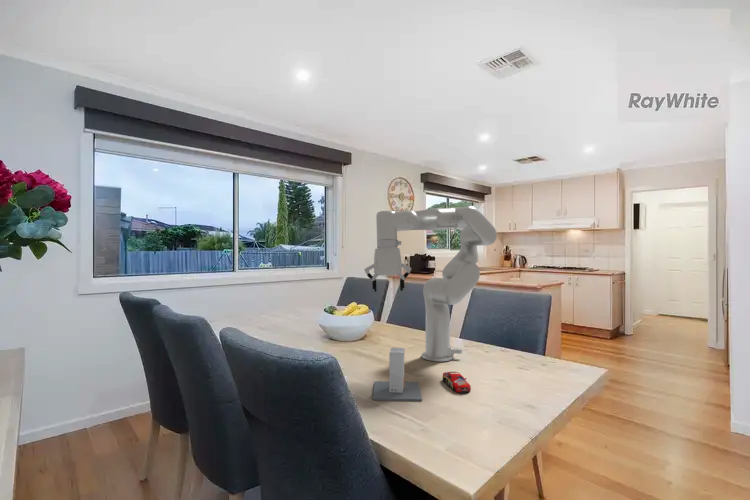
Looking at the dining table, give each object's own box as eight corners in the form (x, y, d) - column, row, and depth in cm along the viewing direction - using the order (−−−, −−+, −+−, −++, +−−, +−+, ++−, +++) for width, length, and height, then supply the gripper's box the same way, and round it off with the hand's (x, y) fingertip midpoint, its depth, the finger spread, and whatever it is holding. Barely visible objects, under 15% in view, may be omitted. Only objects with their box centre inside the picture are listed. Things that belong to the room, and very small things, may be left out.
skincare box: (403, 393, 113) (403, 352, 113) (388, 392, 113) (389, 352, 113) (404, 386, 119) (404, 347, 119) (390, 385, 120) (390, 347, 119)
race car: (473, 394, 115) (473, 381, 115) (456, 395, 114) (456, 382, 114) (456, 379, 128) (456, 367, 128) (440, 380, 127) (440, 368, 127)
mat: (418, 383, 123) (418, 381, 123) (421, 401, 109) (421, 398, 109) (374, 383, 123) (374, 381, 123) (372, 400, 109) (372, 398, 109)
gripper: (409, 243, 145) (410, 289, 145) (363, 245, 145) (365, 290, 145) (411, 244, 138) (413, 291, 138) (363, 245, 137) (365, 292, 137)
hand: (388, 290), depth 141 cm, fingers open, 9 cm apart
